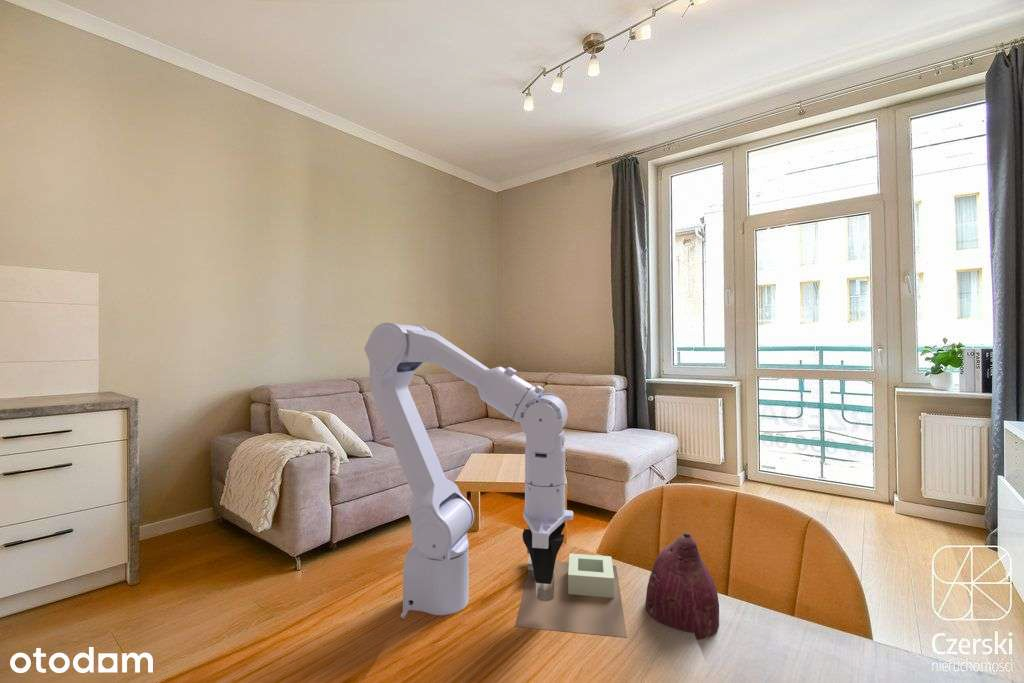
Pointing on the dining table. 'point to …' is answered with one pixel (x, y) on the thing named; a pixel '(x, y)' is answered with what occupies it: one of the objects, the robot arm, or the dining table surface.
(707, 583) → the vegetable
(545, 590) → the pin
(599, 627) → the board
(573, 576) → the square hollow frame
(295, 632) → the dining table surface
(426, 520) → the robot arm
